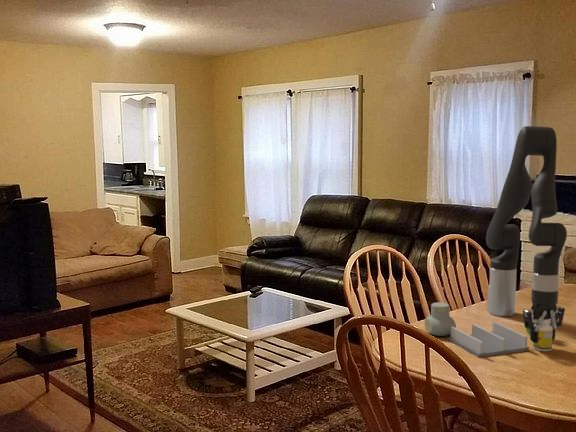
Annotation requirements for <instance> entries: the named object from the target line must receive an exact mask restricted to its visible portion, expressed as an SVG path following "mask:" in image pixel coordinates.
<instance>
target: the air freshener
mask: <svg viewBox="0 0 576 432" xmlns="http://www.w3.org/2000/svg"><path fill="white" fill-rule="evenodd" d="M430 306H431V308H430V309H431V310H430V315H428V316H427V317H426V318H425V319H424V322H423V323H424V327H425V330H426V332H428V333H429V334H430V335H432V336H437V337H445V336H446V337H447V336H451V327H455V328H457V324H456V322H455V320H454V318H453V317H451V316H450V305H449V304H448V303H447V302H440V301H439V302H433V303H431V305H430Z"/></svg>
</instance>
